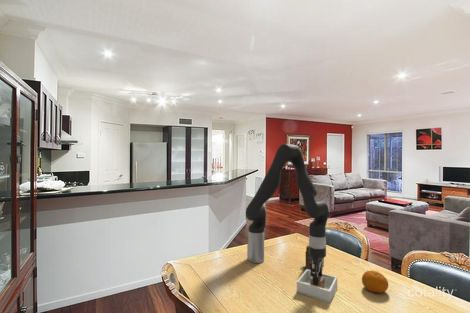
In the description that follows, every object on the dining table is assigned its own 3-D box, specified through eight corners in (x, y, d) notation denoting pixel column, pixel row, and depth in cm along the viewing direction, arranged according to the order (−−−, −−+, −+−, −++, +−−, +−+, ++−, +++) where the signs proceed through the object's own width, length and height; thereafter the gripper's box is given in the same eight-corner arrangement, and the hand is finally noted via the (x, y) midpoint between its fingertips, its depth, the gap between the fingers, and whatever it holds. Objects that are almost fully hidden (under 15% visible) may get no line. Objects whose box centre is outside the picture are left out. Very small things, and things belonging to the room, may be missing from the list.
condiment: (320, 269, 131) (320, 247, 131) (310, 274, 126) (310, 251, 126) (309, 264, 137) (309, 243, 137) (299, 268, 133) (299, 246, 133)
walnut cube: (310, 289, 110) (310, 278, 110) (313, 284, 115) (313, 273, 115) (321, 292, 108) (321, 281, 108) (324, 287, 112) (324, 276, 112)
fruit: (388, 299, 104) (388, 280, 104) (361, 292, 110) (361, 274, 110) (388, 288, 113) (388, 270, 113) (362, 281, 118) (362, 265, 118)
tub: (296, 292, 109) (296, 281, 109) (306, 279, 121) (306, 269, 121) (330, 303, 101) (330, 291, 101) (337, 287, 113) (337, 277, 113)
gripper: (313, 239, 119) (313, 272, 119) (304, 248, 107) (304, 285, 107) (329, 241, 115) (329, 276, 115) (321, 252, 103) (321, 290, 103)
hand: (317, 281), depth 111 cm, fingers open, 6 cm apart
